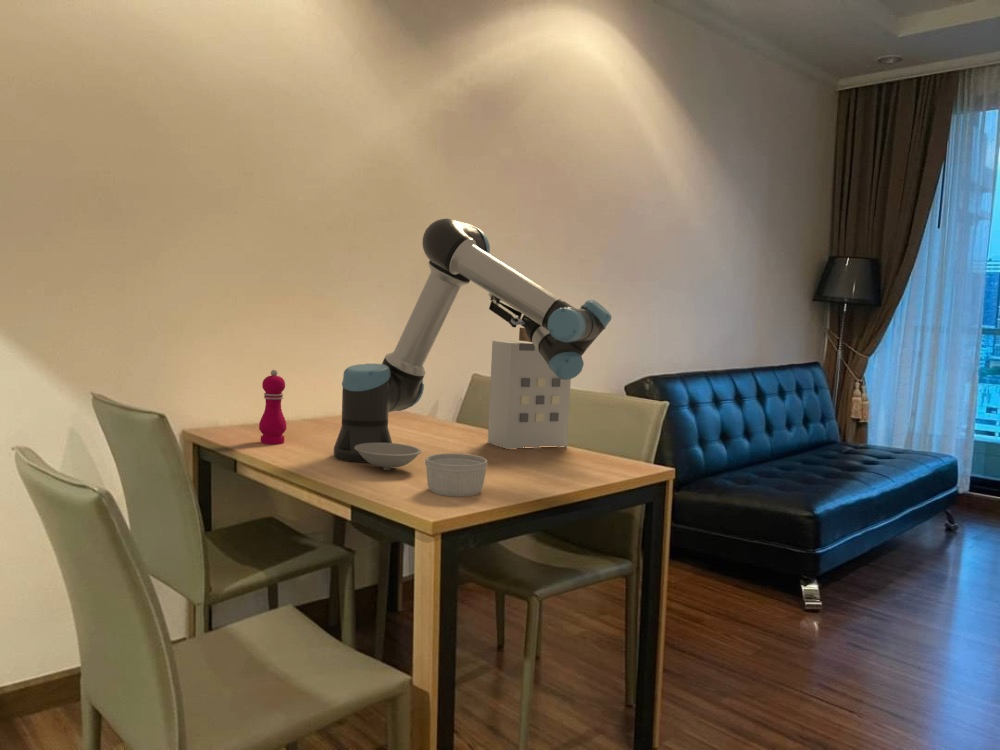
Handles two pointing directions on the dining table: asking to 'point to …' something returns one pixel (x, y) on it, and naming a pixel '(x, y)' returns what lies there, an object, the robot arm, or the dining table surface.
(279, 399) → the pepper mill
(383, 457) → the dish
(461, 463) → the ramekin
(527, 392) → the tall patterned block
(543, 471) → the dining table surface
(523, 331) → the walnut rod
